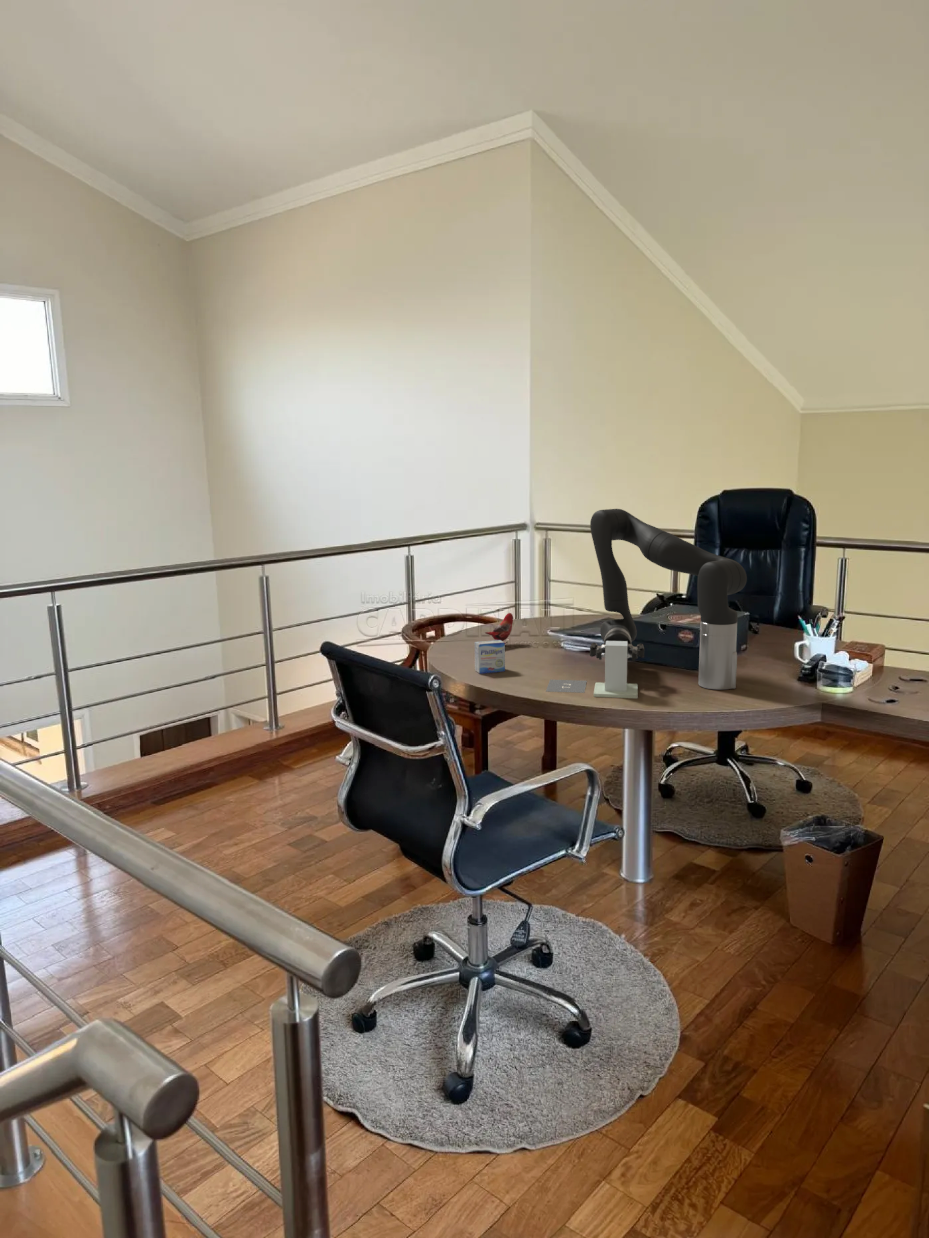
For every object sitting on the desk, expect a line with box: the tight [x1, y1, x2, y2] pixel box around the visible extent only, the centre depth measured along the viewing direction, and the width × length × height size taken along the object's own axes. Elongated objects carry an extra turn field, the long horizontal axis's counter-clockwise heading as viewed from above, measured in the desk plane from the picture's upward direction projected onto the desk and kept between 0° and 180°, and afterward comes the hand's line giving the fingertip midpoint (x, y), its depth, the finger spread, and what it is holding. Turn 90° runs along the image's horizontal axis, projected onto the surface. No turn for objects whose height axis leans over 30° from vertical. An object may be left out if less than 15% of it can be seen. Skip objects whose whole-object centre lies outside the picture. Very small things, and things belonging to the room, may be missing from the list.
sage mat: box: [593, 682, 639, 699], centre depth 225 cm, size 11×11×1 cm
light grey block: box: [604, 641, 628, 692], centre depth 224 cm, size 6×6×12 cm
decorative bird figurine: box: [484, 612, 514, 645], centre depth 279 cm, size 3×18×10 cm, turn 147°
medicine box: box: [473, 639, 506, 675], centre depth 248 cm, size 8×4×9 cm, turn 106°
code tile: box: [545, 679, 588, 694], centre depth 231 cm, size 10×12×1 cm
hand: (616, 656), depth 226 cm, fingers open, 8 cm apart
